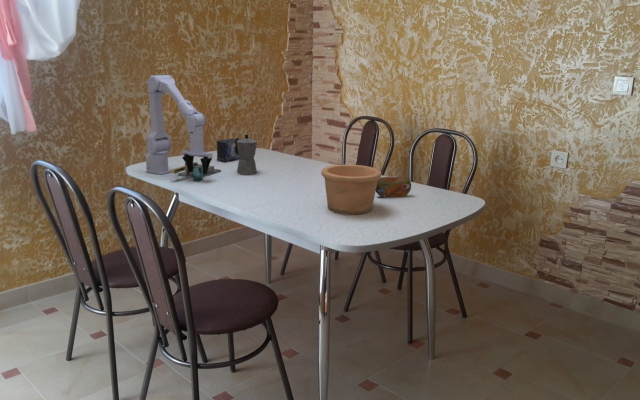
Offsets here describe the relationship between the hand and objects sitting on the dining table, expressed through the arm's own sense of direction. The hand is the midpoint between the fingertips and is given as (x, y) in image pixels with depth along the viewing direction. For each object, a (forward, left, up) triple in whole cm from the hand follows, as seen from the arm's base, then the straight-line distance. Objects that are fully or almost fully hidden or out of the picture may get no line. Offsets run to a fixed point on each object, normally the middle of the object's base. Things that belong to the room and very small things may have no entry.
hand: (197, 172), depth 237 cm
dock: (-7, +11, -3) cm, 14 cm away
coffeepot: (+10, +23, -4) cm, 25 cm away
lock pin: (-7, 0, 0) cm, 7 cm away
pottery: (+74, -7, -4) cm, 74 cm away
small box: (-12, +42, -4) cm, 44 cm away
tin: (+83, +17, -4) cm, 85 cm away
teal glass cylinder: (0, 0, -3) cm, 3 cm away
